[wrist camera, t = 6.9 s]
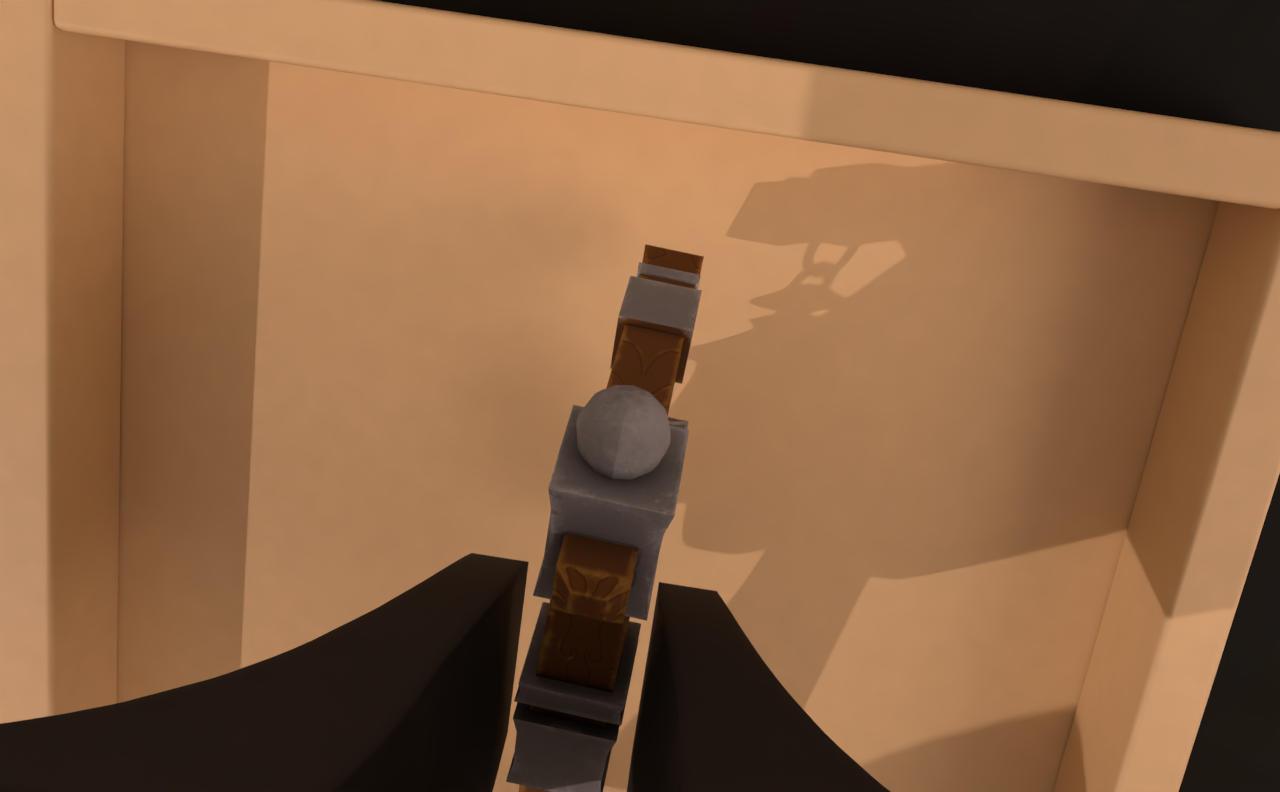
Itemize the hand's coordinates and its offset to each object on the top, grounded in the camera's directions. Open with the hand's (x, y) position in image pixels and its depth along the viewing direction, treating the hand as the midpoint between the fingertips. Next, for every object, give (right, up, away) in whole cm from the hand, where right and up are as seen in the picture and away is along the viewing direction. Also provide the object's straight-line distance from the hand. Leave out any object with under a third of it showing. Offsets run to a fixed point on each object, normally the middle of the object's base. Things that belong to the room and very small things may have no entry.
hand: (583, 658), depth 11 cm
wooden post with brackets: (0, 0, +2) cm, 2 cm away
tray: (0, +1, +3) cm, 3 cm away
